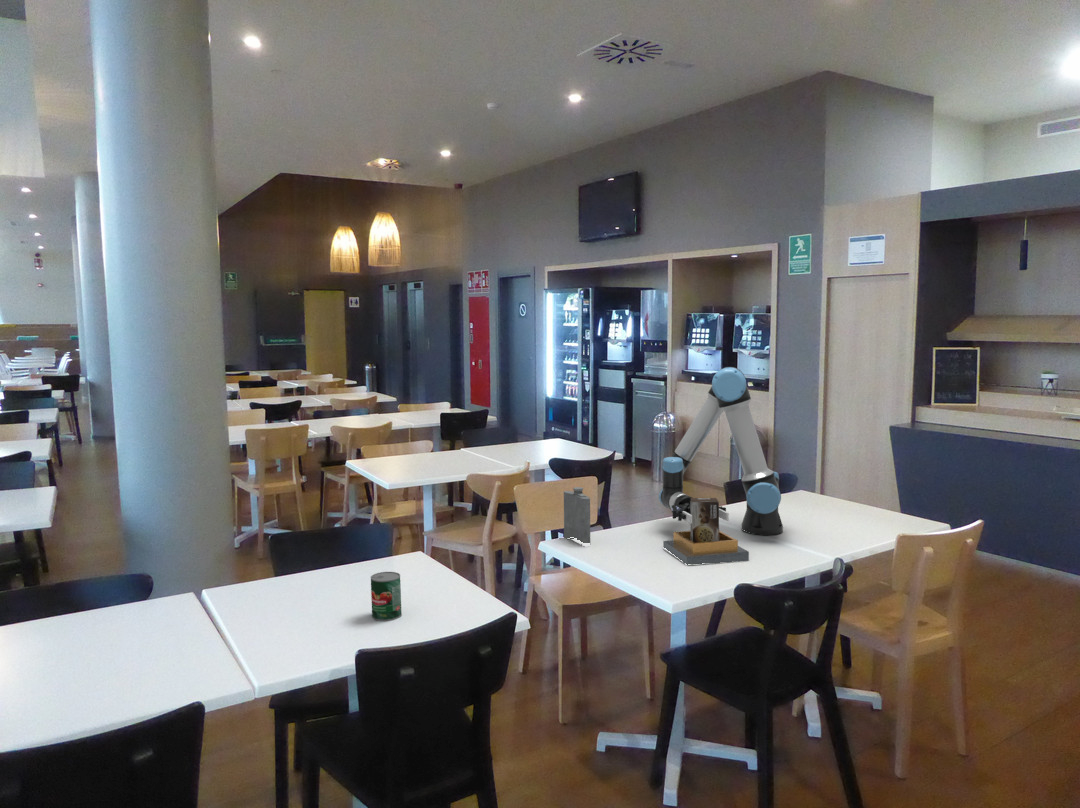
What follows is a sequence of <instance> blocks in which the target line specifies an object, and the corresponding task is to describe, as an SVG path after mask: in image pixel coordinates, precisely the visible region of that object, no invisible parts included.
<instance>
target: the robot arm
mask: <svg viewBox="0 0 1080 808" xmlns="http://www.w3.org/2000/svg"><path fill="white" fill-rule="evenodd" d="M711 380H712V381H711V387H710V389H709V391H708V392H707V396H708V397H707V399H706V400H705V402H704V403H703V405H702V406H701V408H700V410H699V411H698V412H697V414H696V416H695V418H694V420H693V421H692V422H691V424H690V426H689V427H688V429H687V430H686V432H685V433H684V435H683V437H682V438H681V440H680V441H679V443H678V445H677V447H676V448H675V450H674V451H673V453H672V454H671V456H667V457H664V458H663V459H662V466H661V467H662V489H661V490H660V492H659V494H658V499H659V502H660V504H662V505H663V506H664V507H665V508H666V509H668V510H669V509H670V510H671V513H672V519H673V520H674V519H677V521H678V522H681V521H682V520H683V521H685V522H687V523H688V524H689V525H690V524H691V523H692V515H691V514H690V498H693V497H692V496H690V495H688V494H686V493H684V474H685V472H686V471H687V469H688V468H689V466H690V464H691V462H692V461H693V459H694V457H695V456H696V455H697V453H698V451H699V450H700V448H701V447H702V445H703V443H704V442H705V441H706V439H707V437H708V436H709V434H710V432H711V431H712V430H713V428H714V426H715V425H716V423H717V421H719V418H720V417H721V416H722V414H723V412H724V413H725V416H726V419H727V424H728V427H729V429H730V432H731V437H732V439H733V442H734V445H735V448H736V453H737V455H738V458H739V461H740V464H741V469H742V471H743V476H742V478H741V482H742V486H743V489H744V492H745V496H746V498H745V499H746V510H745V514H744V516H743V520H742V522H741V530H742V529H743V530H745V531H747V532H750V533H749V534H751V533H754V534H753V535H757V534H762V535H761V536H774V534H776V535H780V534H782V533H783V532H784V527H783V526H784V525H783V522H782V520H781V516H780V513H779V506H780V504H781V501H782V494H781V492H780V487H779V483H780V482H779V481H780V478H779V477H780V476H779V473H778V472H777V471H774V470H772V469H770V468H769V467H768V465H767V461H766V458H765V455H764V451H763V448H762V446H761V441H760V439H759V435H758V431H757V429H756V425H755V423H754V422H755V421H754V420H753V415H752V413H751V409H750V406H749V404H750V402H751V401H752V398H751V393H750V391H749V388H748V385H747V381H746V377H745V375H744V373H743V372H742V371H741V370H740V369H739V368H737V367H734V366H725V367H722V368H721V369H719V370H718V371H716V373H715V374H714V375H713V377H712V379H711ZM729 515H730V514H729V512H728V511H727V507H724V506H722V505H721V506H719V519H722V520H724V521H726V522H729V521H730V519H729V518H730V517H729ZM743 530H742V531H743ZM747 532H746V533H747ZM779 533H780V534H779Z"/></svg>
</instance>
